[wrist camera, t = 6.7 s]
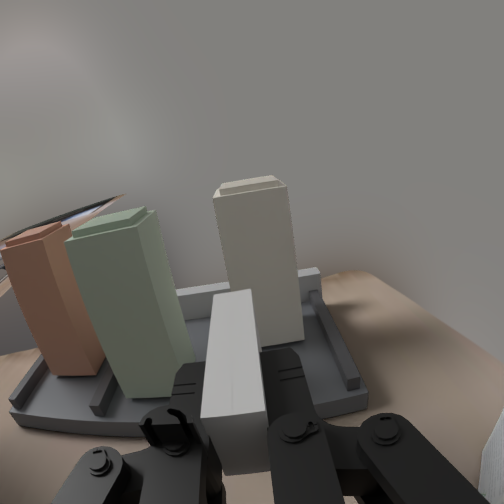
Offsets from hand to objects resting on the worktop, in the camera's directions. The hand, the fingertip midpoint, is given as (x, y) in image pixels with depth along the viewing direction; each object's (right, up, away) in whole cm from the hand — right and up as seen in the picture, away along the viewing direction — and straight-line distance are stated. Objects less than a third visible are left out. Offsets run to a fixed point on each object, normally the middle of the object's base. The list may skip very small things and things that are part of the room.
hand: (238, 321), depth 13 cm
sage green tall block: (-6, -6, +8) cm, 11 cm away
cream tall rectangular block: (+2, -3, +12) cm, 12 cm away
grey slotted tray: (-6, -7, +11) cm, 14 cm away
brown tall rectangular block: (-14, -6, +10) cm, 18 cm away
